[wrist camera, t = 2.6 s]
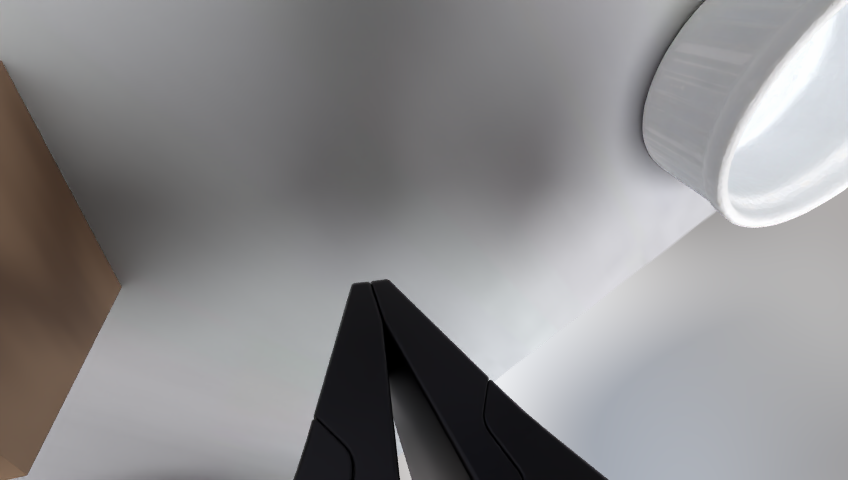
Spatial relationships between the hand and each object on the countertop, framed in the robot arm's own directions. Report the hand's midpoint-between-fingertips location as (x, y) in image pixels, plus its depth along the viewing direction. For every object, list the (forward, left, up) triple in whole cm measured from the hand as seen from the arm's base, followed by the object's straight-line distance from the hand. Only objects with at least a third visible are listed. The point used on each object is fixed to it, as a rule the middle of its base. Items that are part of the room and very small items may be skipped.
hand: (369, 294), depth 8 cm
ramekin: (+4, -15, -6) cm, 17 cm away
